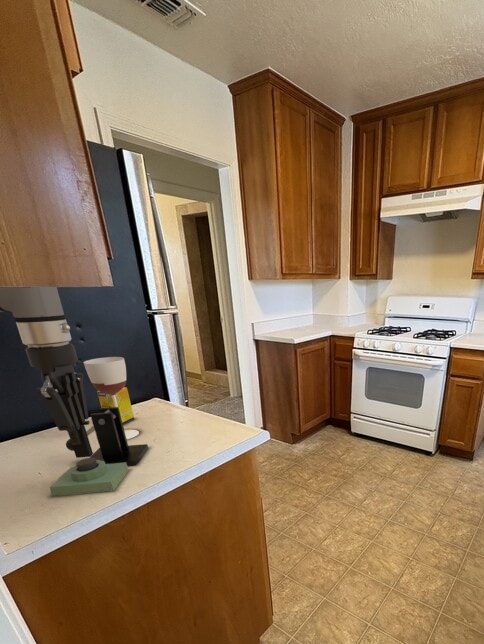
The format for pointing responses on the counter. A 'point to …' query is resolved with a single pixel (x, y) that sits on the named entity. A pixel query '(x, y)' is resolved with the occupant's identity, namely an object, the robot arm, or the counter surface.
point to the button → (86, 464)
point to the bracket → (114, 439)
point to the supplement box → (122, 403)
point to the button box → (89, 479)
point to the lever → (69, 444)
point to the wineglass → (109, 379)
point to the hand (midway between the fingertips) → (84, 455)
